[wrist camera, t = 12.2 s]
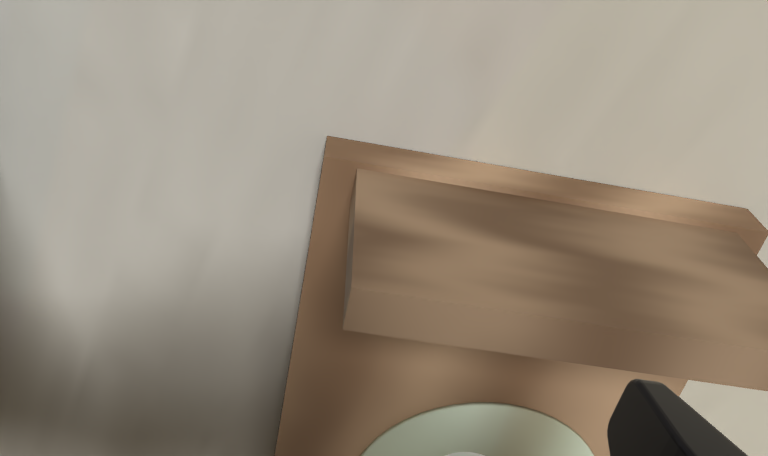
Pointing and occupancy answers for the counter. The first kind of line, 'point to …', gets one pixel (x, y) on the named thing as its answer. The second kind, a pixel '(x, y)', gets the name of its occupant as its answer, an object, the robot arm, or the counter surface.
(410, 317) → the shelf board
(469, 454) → the white tall rounded piece
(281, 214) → the counter surface
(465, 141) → the counter surface
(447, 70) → the counter surface
